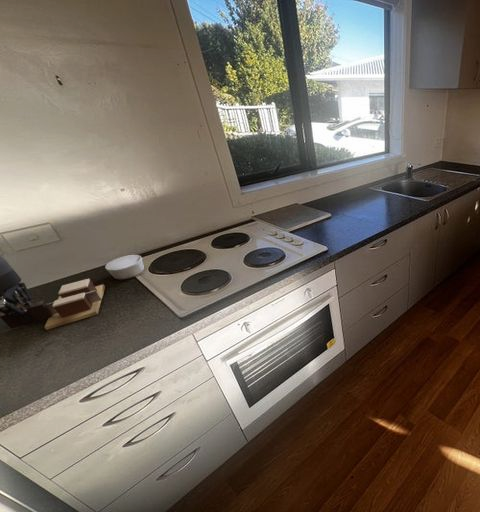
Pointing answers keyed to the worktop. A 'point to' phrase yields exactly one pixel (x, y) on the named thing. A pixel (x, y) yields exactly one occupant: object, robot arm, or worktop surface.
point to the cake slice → (72, 305)
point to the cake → (76, 288)
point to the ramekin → (125, 267)
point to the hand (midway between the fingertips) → (31, 318)
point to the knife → (41, 311)
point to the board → (58, 320)
